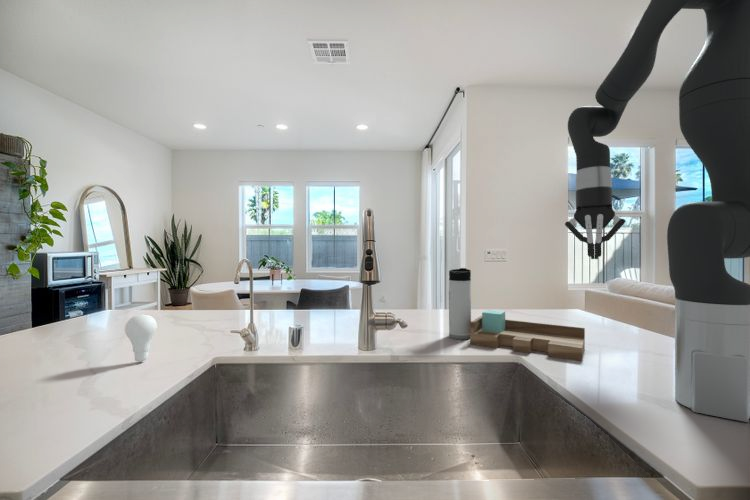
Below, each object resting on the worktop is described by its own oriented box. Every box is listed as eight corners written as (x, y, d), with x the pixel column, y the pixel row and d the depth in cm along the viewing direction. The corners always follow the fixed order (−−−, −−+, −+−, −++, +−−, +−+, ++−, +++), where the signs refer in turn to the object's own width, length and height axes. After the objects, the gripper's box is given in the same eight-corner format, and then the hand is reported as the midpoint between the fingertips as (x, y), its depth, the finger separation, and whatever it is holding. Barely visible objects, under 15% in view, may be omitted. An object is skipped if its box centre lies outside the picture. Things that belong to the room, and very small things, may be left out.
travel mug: (474, 335, 103) (474, 268, 103) (467, 340, 97) (467, 269, 97) (453, 333, 106) (453, 267, 106) (445, 337, 101) (445, 268, 100)
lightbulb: (160, 362, 80) (160, 314, 80) (128, 368, 75) (128, 318, 75) (152, 356, 84) (152, 311, 84) (122, 362, 79) (121, 314, 79)
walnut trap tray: (582, 361, 79) (582, 334, 79) (470, 344, 94) (470, 321, 94) (584, 349, 89) (584, 325, 89) (482, 335, 103) (482, 315, 103)
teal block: (500, 332, 94) (500, 314, 94) (482, 330, 97) (482, 312, 97) (505, 329, 98) (505, 311, 98) (487, 327, 101) (487, 309, 101)
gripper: (561, 188, 85) (562, 259, 85) (627, 182, 78) (629, 259, 78) (563, 193, 92) (564, 259, 91) (625, 187, 85) (626, 258, 84)
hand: (594, 258), depth 85 cm, fingers closed
